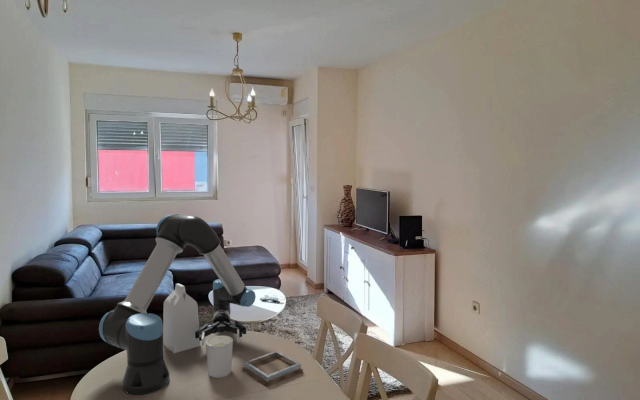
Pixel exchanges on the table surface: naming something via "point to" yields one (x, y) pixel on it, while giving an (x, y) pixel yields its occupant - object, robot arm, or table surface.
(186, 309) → the milk
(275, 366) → the walnut plate
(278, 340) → the table surface
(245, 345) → the table surface
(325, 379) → the table surface
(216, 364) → the candle holder
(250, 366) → the grey square frame
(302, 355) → the table surface
